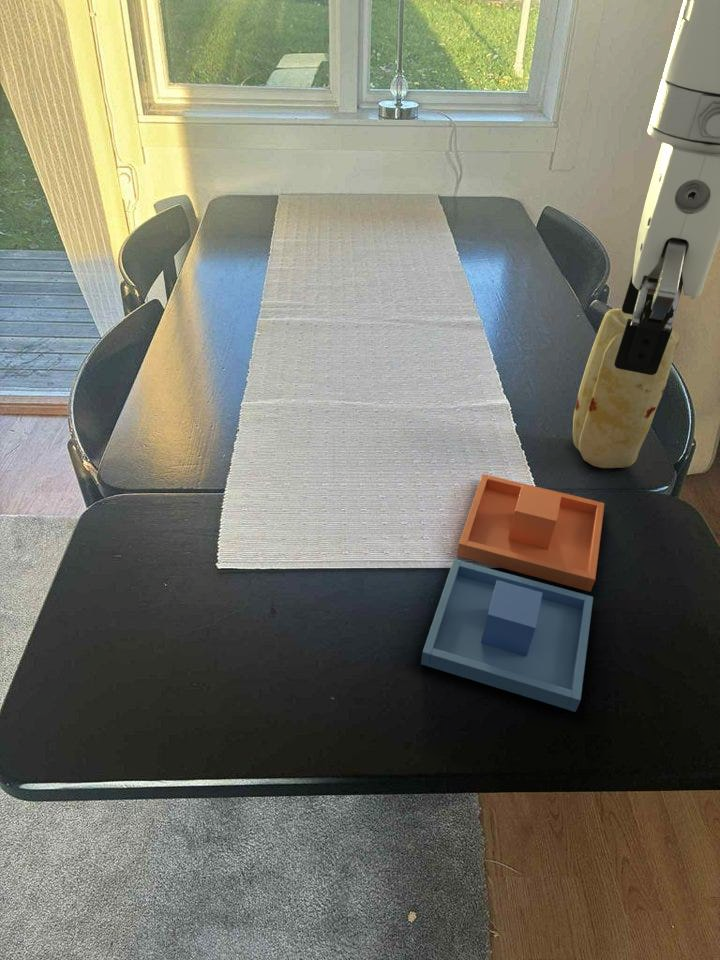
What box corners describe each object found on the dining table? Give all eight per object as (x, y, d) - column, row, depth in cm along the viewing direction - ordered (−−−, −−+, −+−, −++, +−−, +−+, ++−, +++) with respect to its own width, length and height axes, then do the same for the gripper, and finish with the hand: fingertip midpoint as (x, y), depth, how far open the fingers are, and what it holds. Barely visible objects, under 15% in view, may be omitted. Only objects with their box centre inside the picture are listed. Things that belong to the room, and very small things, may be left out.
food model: (643, 460, 91) (697, 322, 78) (619, 484, 88) (671, 343, 75) (577, 428, 96) (617, 293, 83) (552, 449, 93) (589, 312, 79)
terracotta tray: (600, 515, 83) (604, 502, 82) (590, 592, 74) (595, 579, 73) (480, 485, 87) (482, 473, 85) (456, 555, 78) (458, 543, 76)
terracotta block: (553, 523, 81) (561, 494, 78) (548, 549, 78) (556, 521, 75) (514, 513, 82) (521, 485, 79) (508, 539, 79) (515, 510, 76)
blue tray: (588, 609, 73) (593, 596, 71) (575, 712, 63) (580, 700, 62) (451, 571, 76) (453, 558, 75) (420, 664, 67) (422, 651, 66)
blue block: (533, 621, 70) (542, 592, 68) (526, 656, 67) (535, 628, 64) (489, 608, 72) (496, 579, 69) (480, 643, 68) (487, 614, 65)
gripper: (786, 158, 40) (685, 406, 51) (761, 93, 52) (684, 303, 63) (649, 142, 41) (580, 385, 53) (656, 82, 54) (599, 289, 65)
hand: (637, 340), depth 58 cm, fingers open, 9 cm apart
